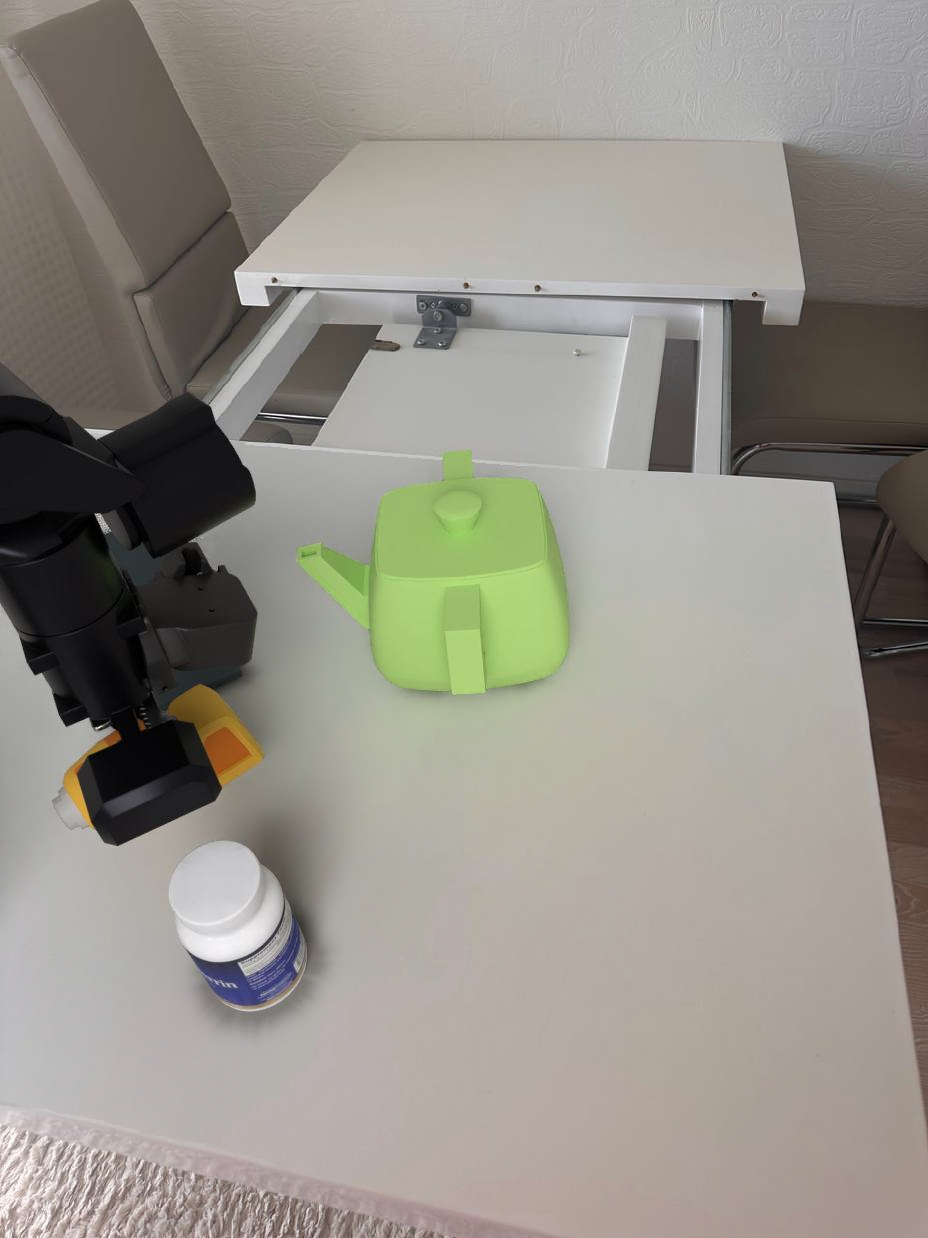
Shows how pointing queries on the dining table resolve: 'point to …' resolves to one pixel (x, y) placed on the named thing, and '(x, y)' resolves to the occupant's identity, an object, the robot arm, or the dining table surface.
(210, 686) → the mat
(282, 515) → the dining table surface
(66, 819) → the multicoloured piece
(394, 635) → the teapot
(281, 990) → the pill bottle
